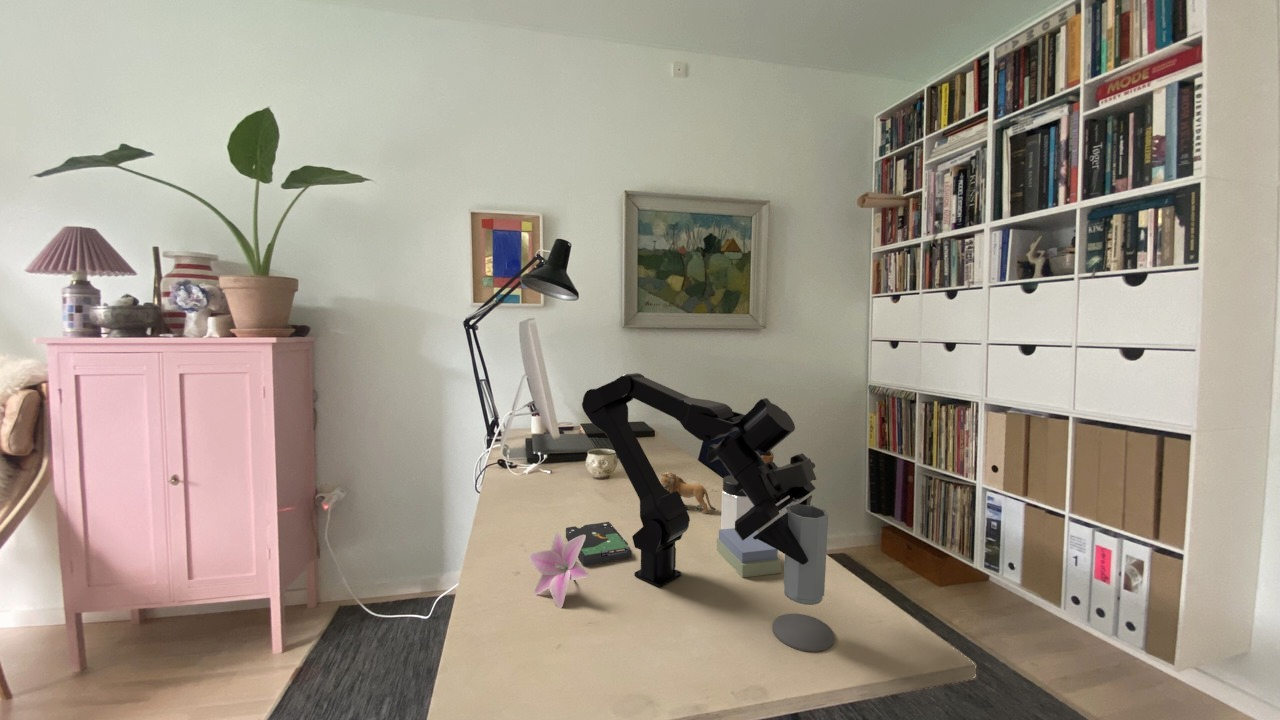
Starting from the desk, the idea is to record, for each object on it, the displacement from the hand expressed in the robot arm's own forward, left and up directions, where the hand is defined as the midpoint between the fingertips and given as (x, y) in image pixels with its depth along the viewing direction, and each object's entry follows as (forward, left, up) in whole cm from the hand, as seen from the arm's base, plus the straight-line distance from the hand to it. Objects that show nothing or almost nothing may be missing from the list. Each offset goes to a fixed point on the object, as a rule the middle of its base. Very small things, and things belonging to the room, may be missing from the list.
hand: (813, 555), depth 74 cm
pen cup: (0, +1, -7) cm, 7 cm away
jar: (+27, +29, -13) cm, 41 cm away
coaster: (0, +1, -13) cm, 13 cm away
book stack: (+15, +20, -13) cm, 28 cm away
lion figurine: (+30, +46, -13) cm, 57 cm away
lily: (-18, +38, -13) cm, 44 cm away
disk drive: (-2, +46, -13) cm, 48 cm away
